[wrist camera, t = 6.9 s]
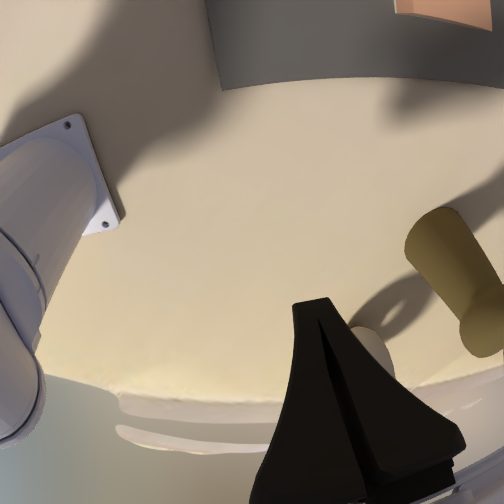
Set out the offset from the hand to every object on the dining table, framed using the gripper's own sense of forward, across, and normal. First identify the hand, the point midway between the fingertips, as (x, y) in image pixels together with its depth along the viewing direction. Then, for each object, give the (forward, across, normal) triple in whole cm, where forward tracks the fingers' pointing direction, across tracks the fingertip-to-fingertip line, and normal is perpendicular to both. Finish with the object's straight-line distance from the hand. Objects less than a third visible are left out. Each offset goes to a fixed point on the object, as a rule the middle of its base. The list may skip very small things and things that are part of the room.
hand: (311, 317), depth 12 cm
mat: (+10, -8, -14) cm, 19 cm away
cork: (+10, -13, +6) cm, 18 cm away
